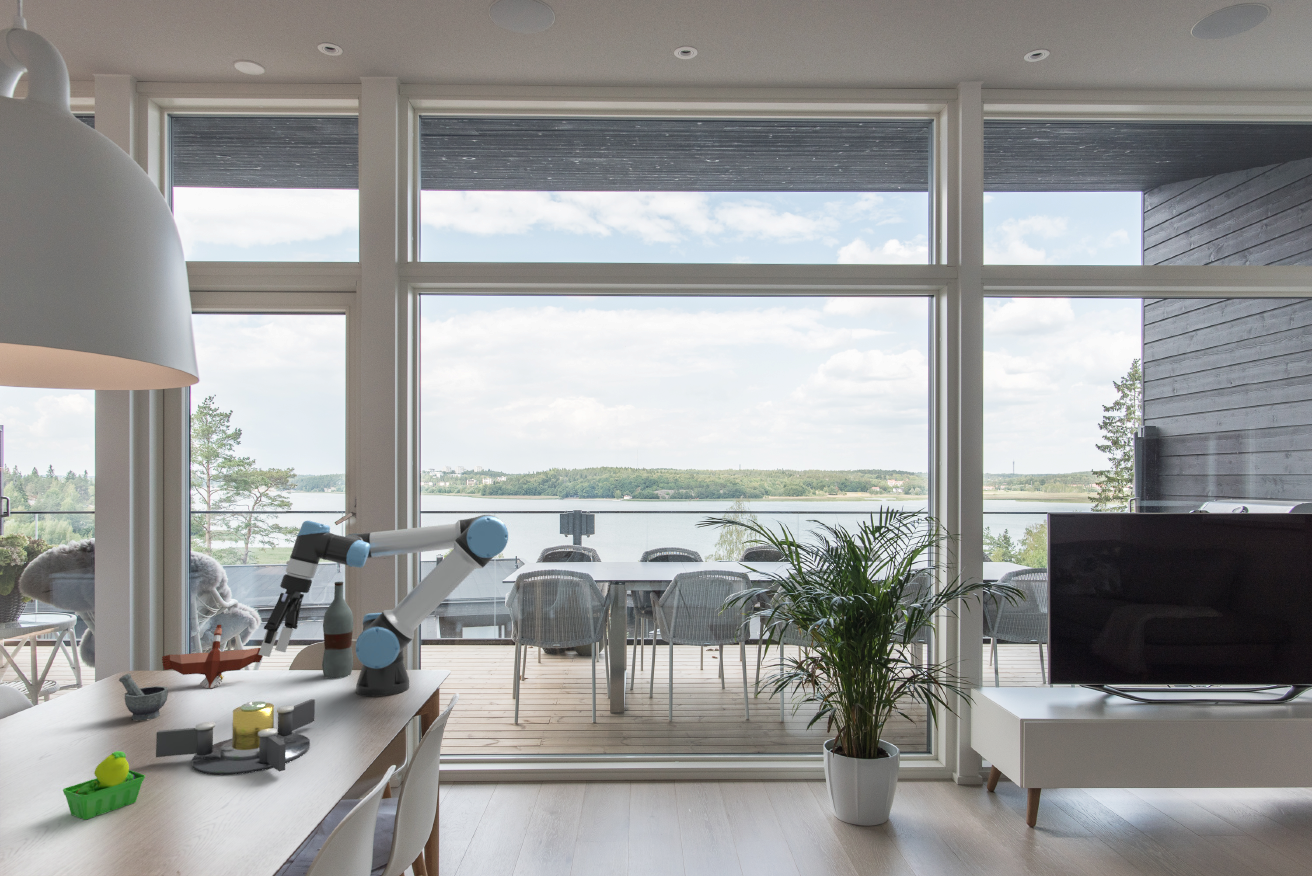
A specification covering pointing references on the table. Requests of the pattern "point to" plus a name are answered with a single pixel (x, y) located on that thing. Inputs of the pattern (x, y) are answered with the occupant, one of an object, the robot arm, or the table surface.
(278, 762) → the knob left
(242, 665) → the decorative bird
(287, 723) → the knob near arm
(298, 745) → the tribrach
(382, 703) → the table surface
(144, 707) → the mortar and pestle
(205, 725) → the knob far
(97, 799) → the fruit basket
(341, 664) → the bottle
